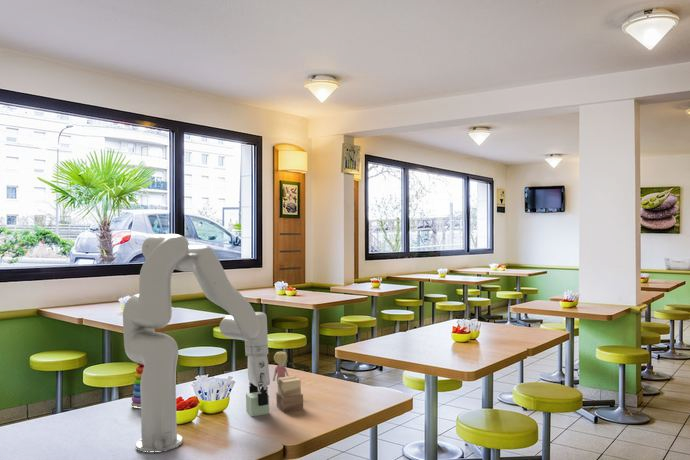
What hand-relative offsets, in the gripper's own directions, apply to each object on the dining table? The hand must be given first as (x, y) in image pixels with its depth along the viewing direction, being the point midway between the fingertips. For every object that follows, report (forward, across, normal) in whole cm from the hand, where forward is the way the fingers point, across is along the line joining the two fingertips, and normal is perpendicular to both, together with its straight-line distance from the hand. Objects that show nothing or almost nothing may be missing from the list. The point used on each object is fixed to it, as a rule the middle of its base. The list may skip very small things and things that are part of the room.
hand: (258, 401), depth 185 cm
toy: (+4, +19, -14) cm, 24 cm away
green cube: (+4, 0, +1) cm, 4 cm away
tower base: (+4, -1, -10) cm, 11 cm away
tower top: (-1, -1, -10) cm, 11 cm away
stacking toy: (+3, +27, +34) cm, 43 cm away
